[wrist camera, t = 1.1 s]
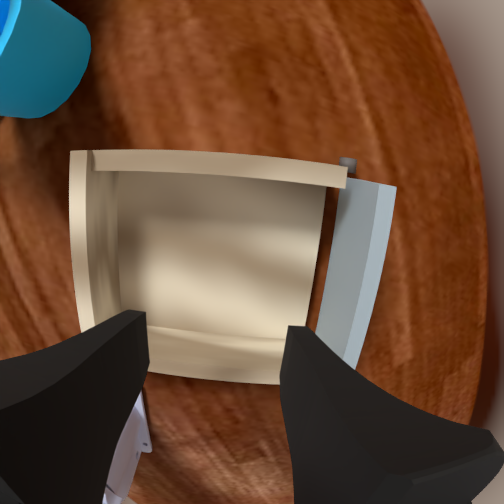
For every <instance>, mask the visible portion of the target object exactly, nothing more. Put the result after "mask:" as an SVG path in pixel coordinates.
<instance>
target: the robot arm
mask: <svg viewBox="0 0 504 504" xmlns="http://www.w3.org/2000/svg"><path fill="white" fill-rule="evenodd" d="M149 364H150V358H149V347H148V335H147V320H146V312H145V311H137V310H130V309H128V310H126V311H123V312H121V313H119V314H117V315H115V316H113V317H111V318H109V319H107V320H105V321H103V322H101V323H100V324H98V325H96V326H94V327H92V328H90V329H88V330H86V331H84V332H82V333H80V334H78V335H75V336H73V337H71V338H69V339H67V340H65V341H62V342H60V343H58V344H55V345H53V346H50V347H48V348H45V349H42V350H39V351H36V352H33V353H30V354H26V355H22V356H18V357H14V358H9V359H5V360H1V361H0V504H121V502H123V501H124V499H125V498H126V497H127V495H128V493H129V490H130V487H131V484H132V480H133V477H134V474H135V471H136V467H137V464H138V461H139V458H140V455H141V452H147V453H150V452H152V444H151V440H150V435H149V430H148V425H147V419H146V414H145V408H144V402H143V396H142V387H143V384H144V381H145V378H146V375H147V371H148V368H149ZM279 379H280V400H281V406H282V412H283V417H284V422H285V428H286V433H287V438H288V443H289V449H290V454H291V461H292V469H293V485H294V504H472V502H471V501H472V500H473V499H474V498H475V497H476V496H477V495H478V494H479V493H480V492H481V491H482V490H483V489H484V488H485V487H486V486H487V485H488V484H489V483H490V482H491V481H492V480H493V478H494V477H495V476H496V475H497V474H498V472H499V471H500V469H501V468H502V466H503V464H504V451H503V450H502V448H501V447H500V445H499V444H498V442H497V441H496V439H495V438H494V436H493V435H492V434H491V432H490V431H489V430H486V429H481V428H477V427H473V426H468V425H464V424H460V423H456V422H453V421H450V420H447V419H444V418H441V417H438V416H435V415H432V414H430V413H427V412H425V411H423V410H420V409H418V408H416V407H414V406H412V405H410V404H408V403H406V402H404V401H402V400H400V399H398V398H396V397H394V396H392V395H391V394H389V393H387V392H386V391H384V390H383V389H381V388H379V387H378V386H376V385H375V384H373V383H372V382H370V381H369V380H367V379H366V378H365V377H363V376H362V375H361V374H359V373H358V372H357V371H356V370H354V369H353V368H352V367H351V366H349V365H348V364H347V363H346V362H345V361H343V360H342V359H341V358H340V357H339V356H338V355H337V354H336V353H335V352H333V351H332V350H331V349H330V348H329V347H328V346H327V345H326V344H325V343H324V342H323V341H322V340H321V339H320V338H319V337H318V336H317V335H316V334H315V333H314V332H313V331H312V330H311V329H310V328H308V327H307V326H291V325H288V329H287V335H286V341H285V347H284V353H283V358H282V364H281V369H280V375H279Z"/></svg>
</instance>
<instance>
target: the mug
mask: <svg viewBox="0 0 504 504" xmlns="http://www.w3.org/2000/svg"><path fill="white" fill-rule="evenodd" d="M90 52H91V40H90V34H89V32H88V30H87V28H86V25H85V24H83V23H82V22H81V21H79V20H78V19H77V18H75V17H74V16H72V15H71V14H69V13H68V12H67V11H65V10H64V9H62V8H61V7H59V6H58V5H57V4H55V3H54V2H52V1H51V0H0V116H9V117H19V118H39V117H43V116H45V115H47V114H49V113H51V112H53V111H55V110H56V109H57V108H58V107H59V106H60V105H61V104H63V103H64V102H65V101H66V100H67V99H68V98H69V96H70V95H71V94H72V92H73V91H74V90H75V88H76V87H77V86H78V85H79V83H80V81H81V78H82V76H83V74H84V72H85V70H86V68H87V65H88V61H89V56H90Z"/></svg>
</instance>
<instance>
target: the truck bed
mask: <svg viewBox="0 0 504 504" xmlns="http://www.w3.org/2000/svg"><path fill="white" fill-rule="evenodd" d="M356 165H357V160H356V159H352V158H345V157H340V160H339V166H338V165H331V164H324V163H317V162H310V161H302V160H294V159H286V158H277V157H267V156H257V155H246V154H233V153H219V152H203V151H181V150H78V151H70V172H69V220H70V242H71V256H72V268H73V277H74V286H75V294H76V302H77V309H78V315H79V321H80V327H81V333H82V332H84V331H86V330H88V329H90V328H92V327H94V326H96V325H98V324H100V323H101V322H103V321H105V320H107V319H109V318H111V317H113V316H115V315H117V314H119V313H121V312H123V311H126V310H128V309H130V310H137V311H145V312H146V320H147V335H148V347H149V358H150V364H149V368H148V371H150V372H156V373H163V374H169V375H176V376H184V377H192V378H200V379H209V380H219V381H230V382H243V383H259V384H280V379H279V375H280V369H281V364H282V358H283V353H284V347H285V341H286V335H287V329H288V325H291V326H305V323H306V318H307V312H308V307H309V301H310V296H311V290H312V284H313V278H314V272H315V266H316V260H317V253H318V247H319V240H320V233H321V226H322V219H323V211H324V204H325V196H326V188H327V186H329V187H337V188H344V189H345V187H346V179H347V172H348V173H355V174H356Z"/></svg>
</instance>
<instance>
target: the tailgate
mask: <svg viewBox="0 0 504 504" xmlns="http://www.w3.org/2000/svg"><path fill="white" fill-rule="evenodd" d="M396 188H397V187H394V186H389V185H385V184H380V183H375V182H370V181H364V180H359V179H354V178H347V179H346V187H345V189H344V188H340V191H339V199H338V206H337V214H336V221H335V228H334V234H333V241H332V247H331V253H330V259H329V265H328V271H327V277H326V282H325V288H324V293H323V298H322V303H321V308H320V313H319V318H318V323H317V328H316V333H315V334H316V335H317V336H318V337H319V338H320V339H321V340H322V341H323V342H324V343H325V344H326V345H327V346H328V347H329V348H330V349H331V350H332V351H333V352H335V353H336V354H337V355H338V356H339V357H340V358H341V359H342V360H343V361H345V362H346V363H347V364H348V365H349V366H351V367H352V368H353V369H354V370H355V368H356V365H357V362H358V359H359V356H360V352H361V349H362V346H363V342H364V339H365V335H366V332H367V328H368V325H369V321H370V318H371V314H372V310H373V306H374V302H375V298H376V294H377V290H378V286H379V281H380V277H381V273H382V268H383V263H384V259H385V254H386V249H387V243H388V238H389V233H390V227H391V221H392V215H393V209H394V202H395V195H396Z"/></svg>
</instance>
